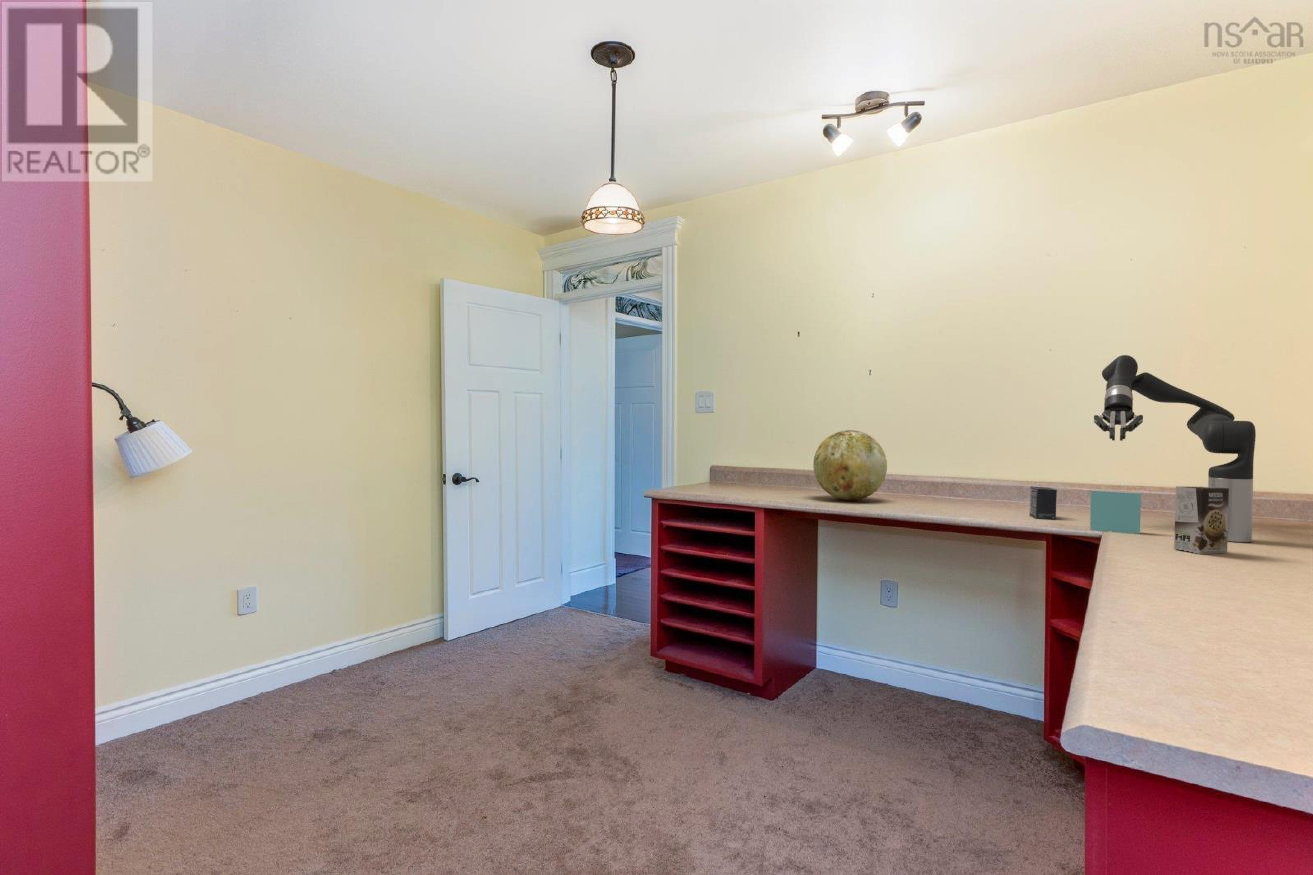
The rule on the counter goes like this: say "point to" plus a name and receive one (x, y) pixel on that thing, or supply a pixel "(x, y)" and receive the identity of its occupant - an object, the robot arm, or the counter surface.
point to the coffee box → (1201, 519)
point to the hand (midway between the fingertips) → (1117, 438)
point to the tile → (1115, 511)
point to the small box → (1043, 503)
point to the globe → (850, 465)
